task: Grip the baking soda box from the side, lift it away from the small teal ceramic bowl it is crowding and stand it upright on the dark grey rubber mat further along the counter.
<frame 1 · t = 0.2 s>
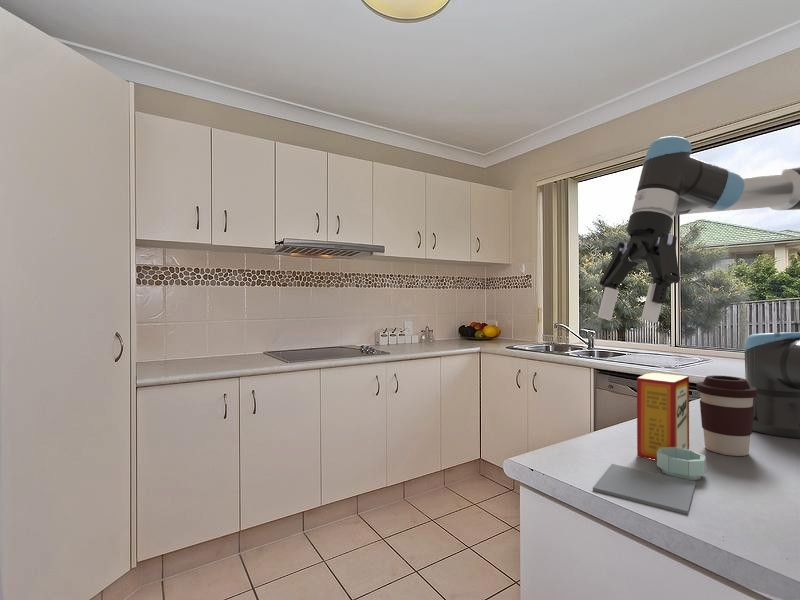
hand: (624, 319, 84), 27 cm above the worktop, tool tilted 15°, fingers open, 13 cm apart
bowl: (680, 473, 77), on the worktop
mat: (645, 487, 72), on the worktop
baking soda box: (663, 455, 87), on the worktop
coffee cup: (726, 451, 89), on the worktop
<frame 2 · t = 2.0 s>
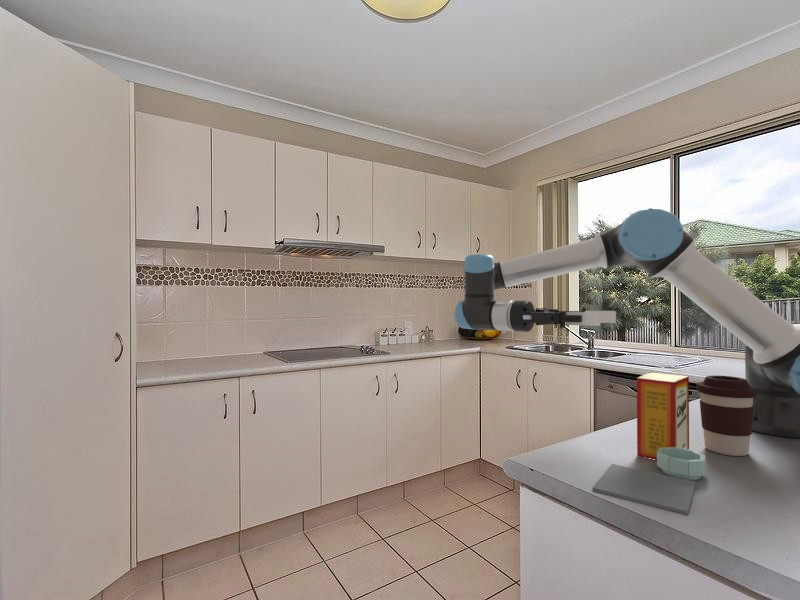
hand: (608, 318, 93), 27 cm above the worktop, tool horizontal, fingers open, 13 cm apart
nothing on the worktop moved.
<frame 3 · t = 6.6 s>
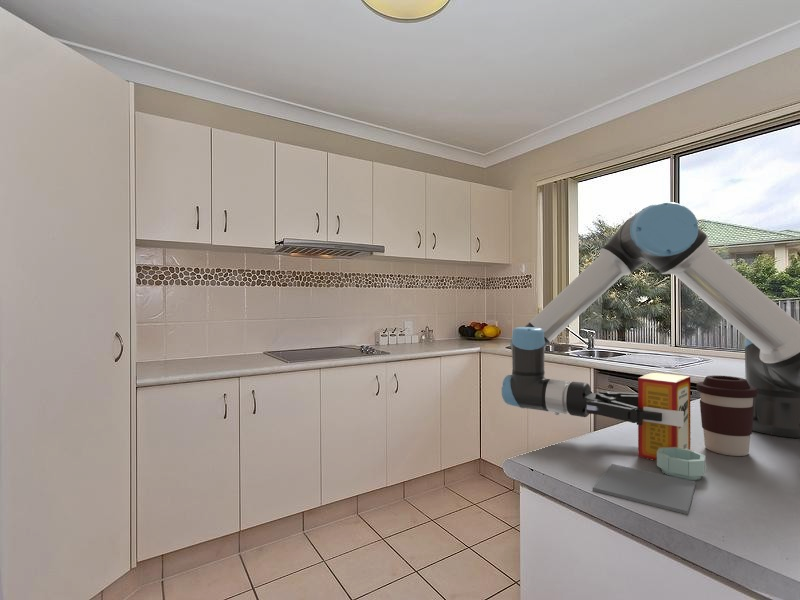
hand: (686, 413, 84), 9 cm above the worktop, tool horizontal, fingers closed on baking soda box, 10 cm apart
baking soda box: (664, 456, 86), on the worktop, touching bowl, gripper
everything else where it was.
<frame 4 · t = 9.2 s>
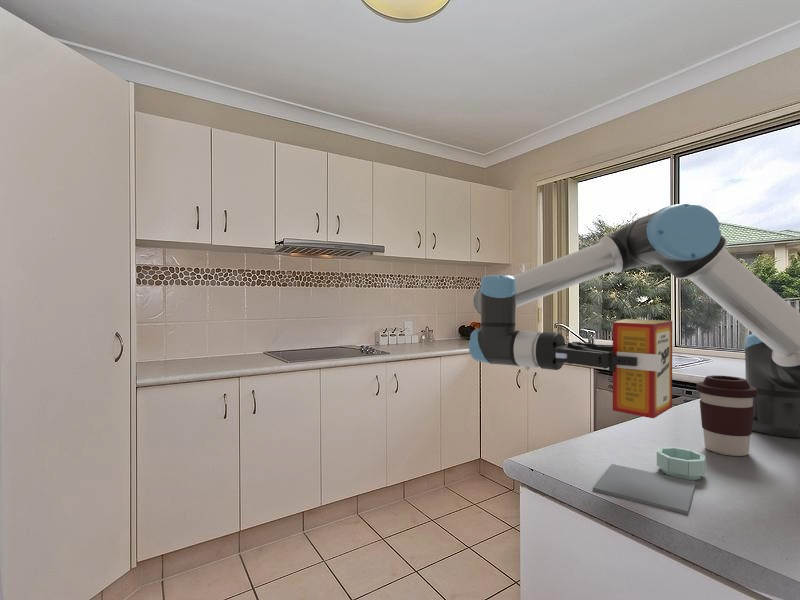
hand: (666, 359, 74), 21 cm above the worktop, tool horizontal, fingers closed on baking soda box, 10 cm apart
baking soda box: (642, 410, 77), point 12 cm above the worktop, touching gripper
everything else where it was.
when the fingers open (11 cm above the worktop, at t = 11.9 s): baking soda box drops 1 cm, resting on mat.
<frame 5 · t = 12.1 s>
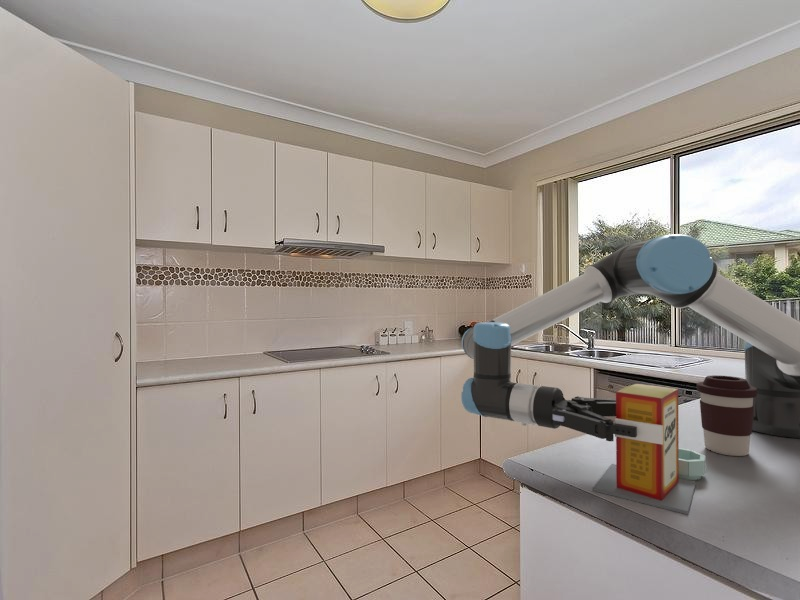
hand: (669, 424, 70), 11 cm above the worktop, tool horizontal, fingers open, 12 cm apart
baking soda box: (647, 485, 71), resting on mat
everything else where it was.
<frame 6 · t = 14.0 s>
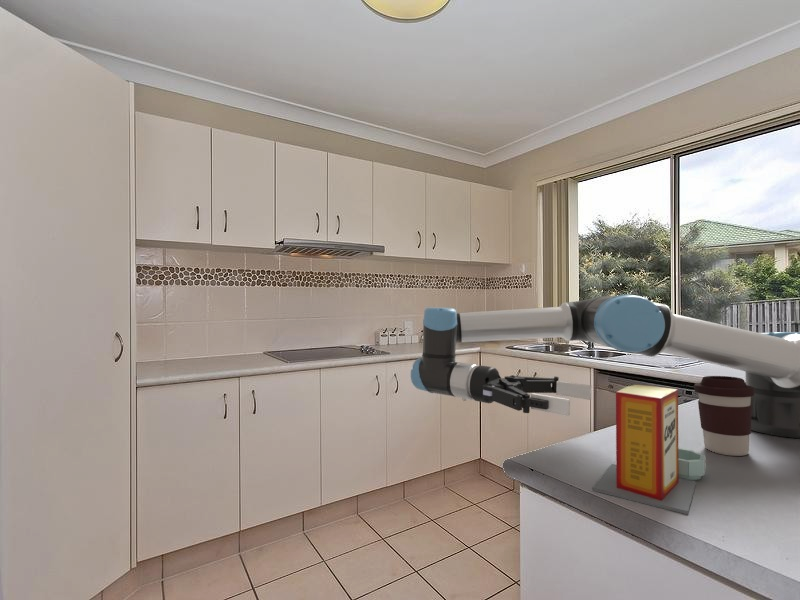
hand: (581, 399, 79), 13 cm above the worktop, tool horizontal, fingers open, 13 cm apart
coffee cup: (726, 452, 89), on the worktop, touching arm
everything else where it was.
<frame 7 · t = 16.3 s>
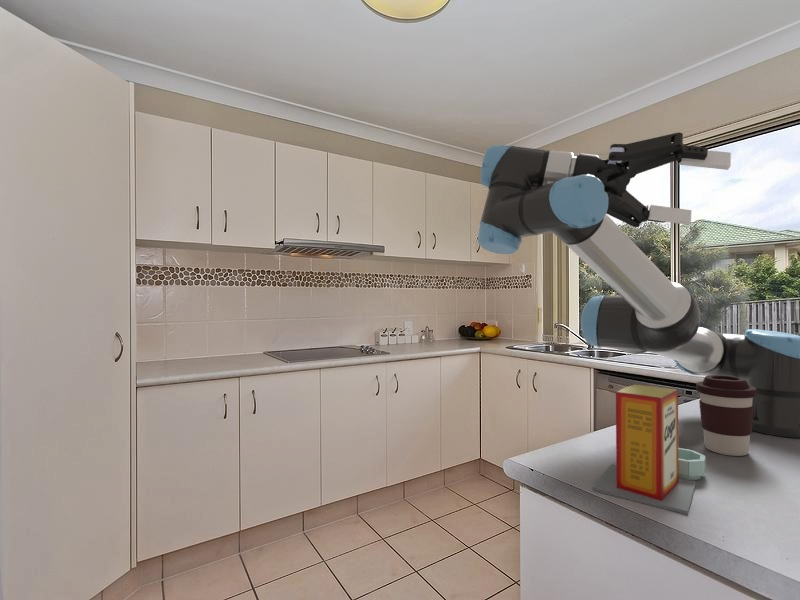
hand: (708, 191, 70), 49 cm above the worktop, tool horizontal, fingers open, 13 cm apart
coffee cup: (726, 451, 89), on the worktop
everything else where it was.
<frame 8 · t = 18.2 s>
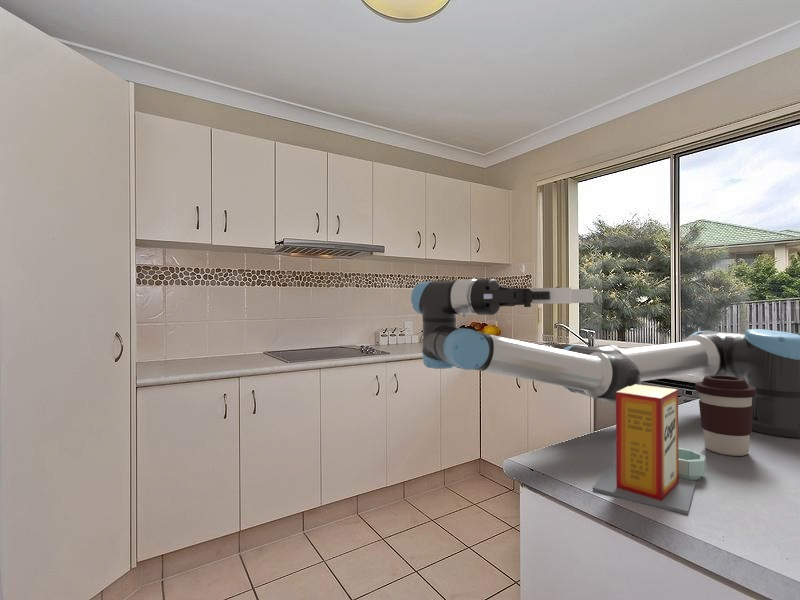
hand: (582, 295, 78), 32 cm above the worktop, tool horizontal, fingers open, 13 cm apart
nothing on the worktop moved.
at the end: baking soda box inside the target area on the mat (0.4 cm from its centre), point 0.3 cm above the mat's base; baking soda box tilted 0°; the gripper is holding nothing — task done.
